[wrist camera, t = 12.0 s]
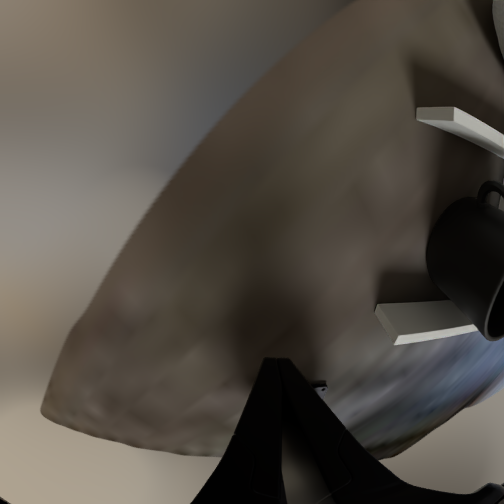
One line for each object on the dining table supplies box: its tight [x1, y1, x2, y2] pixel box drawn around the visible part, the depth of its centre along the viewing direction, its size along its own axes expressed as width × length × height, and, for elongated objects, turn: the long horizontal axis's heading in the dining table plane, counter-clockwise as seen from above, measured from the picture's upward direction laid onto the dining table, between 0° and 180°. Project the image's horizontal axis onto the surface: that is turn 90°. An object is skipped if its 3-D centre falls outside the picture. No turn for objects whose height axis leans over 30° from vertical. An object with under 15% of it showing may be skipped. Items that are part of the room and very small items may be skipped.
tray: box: [374, 107, 504, 345], centre depth 17 cm, size 18×14×4 cm
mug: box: [427, 181, 504, 341], centre depth 15 cm, size 9×12×9 cm
